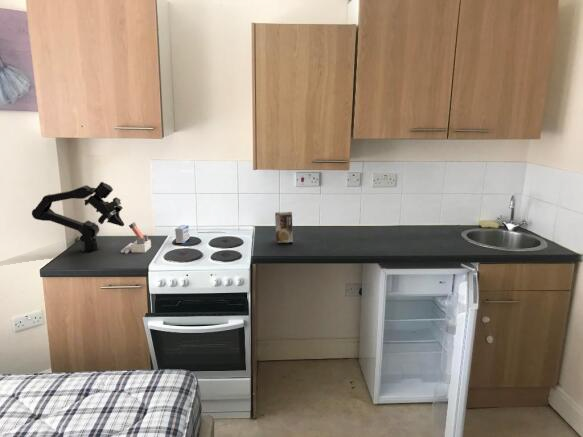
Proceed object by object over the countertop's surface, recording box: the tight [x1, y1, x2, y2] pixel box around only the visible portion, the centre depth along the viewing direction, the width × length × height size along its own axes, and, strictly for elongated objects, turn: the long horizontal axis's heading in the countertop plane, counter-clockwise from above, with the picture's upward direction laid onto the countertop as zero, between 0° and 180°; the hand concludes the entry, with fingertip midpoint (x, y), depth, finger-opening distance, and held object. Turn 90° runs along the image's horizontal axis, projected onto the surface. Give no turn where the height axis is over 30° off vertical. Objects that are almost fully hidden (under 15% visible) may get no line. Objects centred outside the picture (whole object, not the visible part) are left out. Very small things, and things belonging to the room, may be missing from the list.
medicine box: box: [174, 224, 190, 244], centre depth 245 cm, size 8×4×9 cm, turn 168°
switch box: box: [131, 234, 152, 253], centre depth 233 cm, size 7×9×7 cm
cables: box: [120, 242, 134, 255], centre depth 234 cm, size 15×4×2 cm, turn 178°
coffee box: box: [274, 211, 294, 243], centre depth 240 cm, size 9×6×16 cm
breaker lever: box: [128, 222, 145, 239], centre depth 232 cm, size 2×3×10 cm
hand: (123, 225), depth 231 cm, fingers closed
